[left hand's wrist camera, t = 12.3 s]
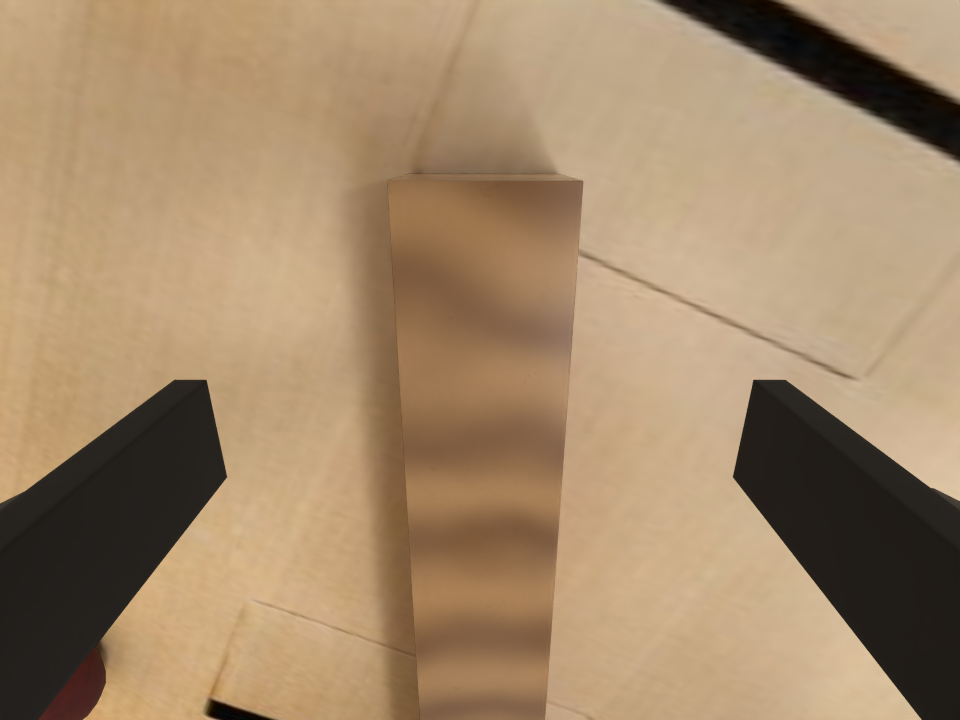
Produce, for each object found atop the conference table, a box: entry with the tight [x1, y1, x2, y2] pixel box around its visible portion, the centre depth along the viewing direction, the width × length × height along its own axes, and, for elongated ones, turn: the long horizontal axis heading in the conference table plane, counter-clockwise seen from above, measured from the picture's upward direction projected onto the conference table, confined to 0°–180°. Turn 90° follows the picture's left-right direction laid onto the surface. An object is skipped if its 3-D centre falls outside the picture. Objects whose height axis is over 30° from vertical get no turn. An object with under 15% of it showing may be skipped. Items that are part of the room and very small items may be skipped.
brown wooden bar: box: [387, 174, 583, 720], centre depth 37 cm, size 56×9×7 cm, turn 0°
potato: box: [38, 647, 106, 720], centre depth 40 cm, size 7×8×7 cm
